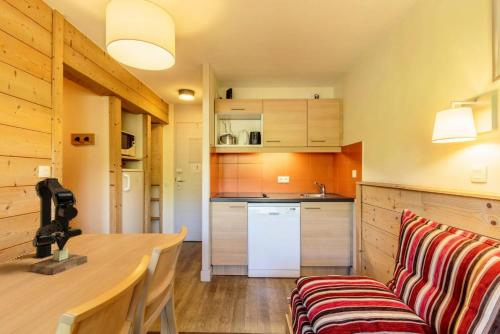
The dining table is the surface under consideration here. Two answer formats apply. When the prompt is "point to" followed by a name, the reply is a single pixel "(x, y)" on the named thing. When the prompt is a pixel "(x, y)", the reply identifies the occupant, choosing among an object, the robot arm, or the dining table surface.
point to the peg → (60, 255)
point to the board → (58, 264)
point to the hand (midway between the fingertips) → (60, 249)
